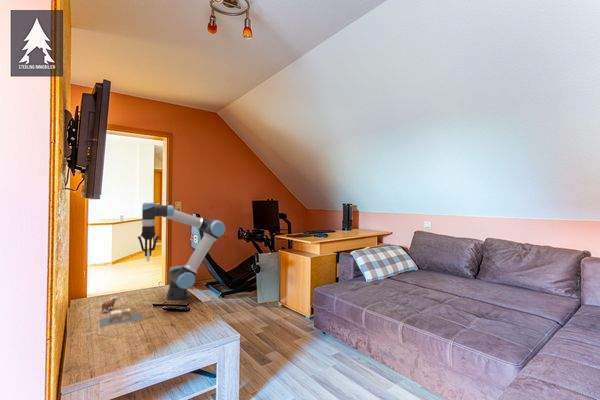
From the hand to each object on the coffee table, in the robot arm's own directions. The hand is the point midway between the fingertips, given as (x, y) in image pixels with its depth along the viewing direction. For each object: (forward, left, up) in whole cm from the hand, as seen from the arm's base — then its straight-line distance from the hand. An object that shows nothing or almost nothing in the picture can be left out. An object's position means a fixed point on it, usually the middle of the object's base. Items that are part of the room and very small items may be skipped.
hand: (148, 260), depth 199 cm
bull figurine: (+21, -9, -33) cm, 40 cm away
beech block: (+11, +11, -29) cm, 33 cm away
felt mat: (+15, +11, -32) cm, 37 cm away
